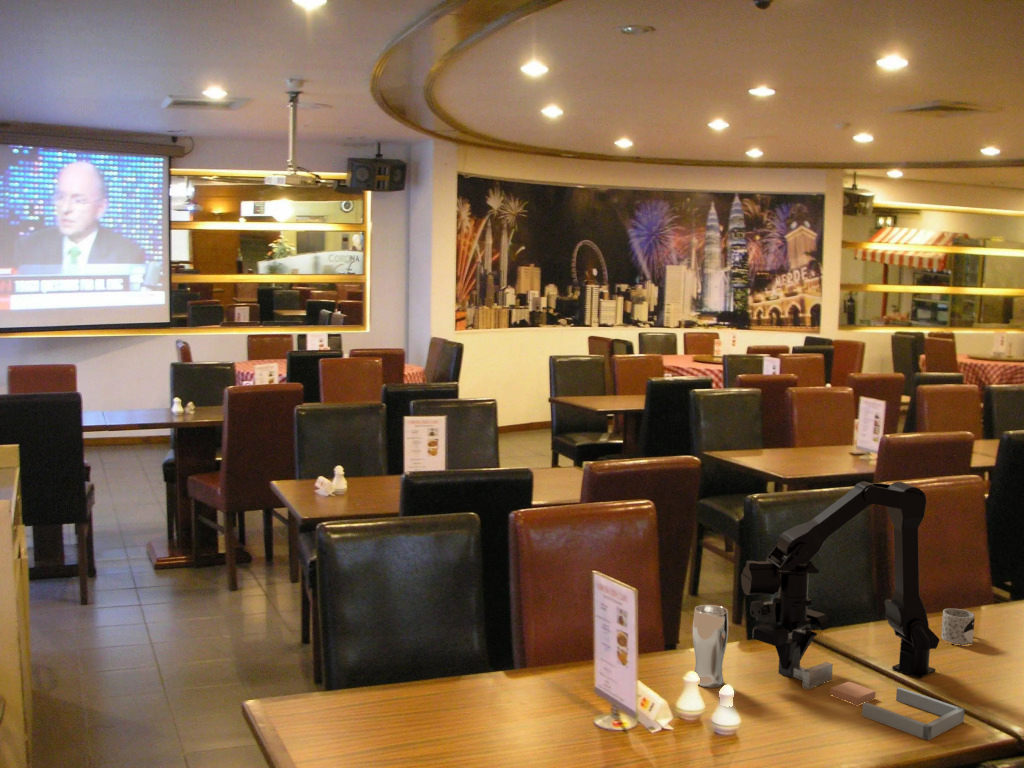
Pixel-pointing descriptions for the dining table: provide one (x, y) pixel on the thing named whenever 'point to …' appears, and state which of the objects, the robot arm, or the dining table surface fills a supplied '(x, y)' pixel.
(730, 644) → the dining table surface
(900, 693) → the corral
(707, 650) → the beer glass
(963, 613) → the mug
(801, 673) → the grey angular piece
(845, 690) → the terracotta tile
